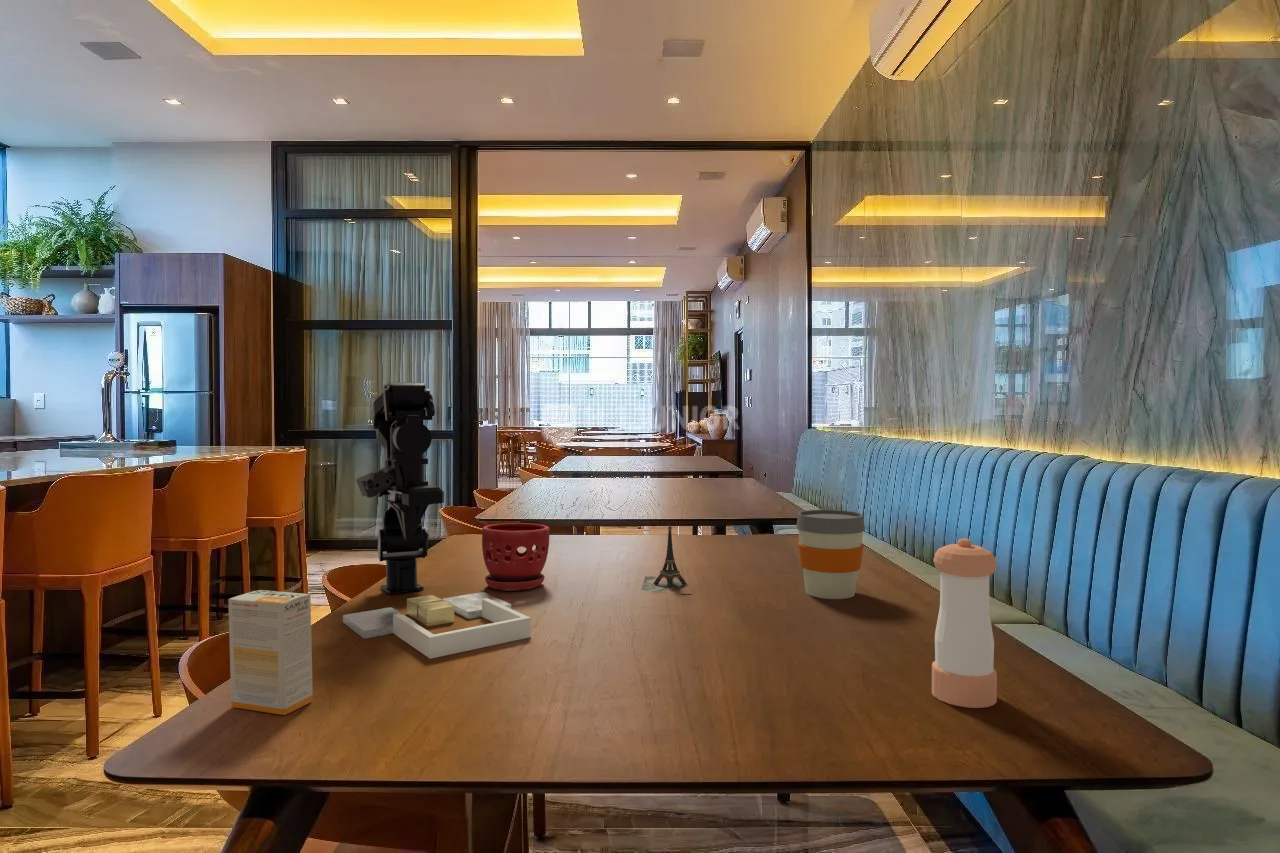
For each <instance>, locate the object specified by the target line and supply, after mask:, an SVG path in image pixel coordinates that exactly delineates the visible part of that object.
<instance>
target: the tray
mask: <svg viewBox="0 0 1280 853" xmlns="http://www.w3.org/2000/svg"><path fill="white" fill-rule="evenodd" d="M400 613H401V612H400ZM400 613H397V614H393V633H392V634H394V635H395V636H396V637H398V638H399V639H400V640H402V641H404V642H405V643H407V644H408V645H409V646H411V647H412V648H414V649H416V651H418V652H420V653H421V654H423V655H424V656H425V657H426V658H428V659H430V660H431V659H436V658H439V657H440V658H441V657H445V656H450V655H454V654H458V653H463V652H467V651H468V652H469V651H472V650H477V649H481V648H485V647H491V646H496V645H500V644H505V643H509V642H515V641H519V640H524V639H528V638H531V637H532V632H531V631H532V629H531V625H532V623H531V622H532V620H531V619H532V618H531V617H530V616H528V615H526V614H524V613H521V612H519V611H517V610H514V609H512V608H511V609H510V608H508V607H506V606H504V605H501V604H499V603H497V602H495V601H493V600H490V599H488V598H485V599H482V617H481V618H483V619H486V620H488V621H489V622H492V623H486V624H481V625H476V626H471V627H466V628H465V627H464V628H461V629H456V630H450V631H446V632H445V631H444V632H440V633H439V632H438V633H435V634H434V633H432V632H431V631H430V630H427V629H425V627H422V626H421V625H419V624H418V623H416V621H415V622H413V621H414V620H413V621H411V620H410V619H411V618H410V619H408V618H409V617H408V618H406V617H405V616H406V615H405V616H403V615H404V614H403V613H402V614H403V615H402V614H400Z"/></svg>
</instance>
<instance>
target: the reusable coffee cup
mask: <svg viewBox="0 0 1280 853" xmlns="http://www.w3.org/2000/svg"><path fill="white" fill-rule="evenodd" d="M796 517H797V519H796V520H797V521H796V525H795V526H796V527H795V528H796V529H797V531H798V538H799V541H798V542H797V548H798V556H799V557H798V558H799V564H800V567H801V568H802V569H803V570H802V572H803V578H804V579H803V580H804V587H805V593H806V594H807V595H808V596H812V597H815V598H817V599H818V598H819V599H826V600H843V599H844V600H846V599H851V598H852V597H855V595H856V587H857V579H858V572H859V571H860V570H861V566H862V560H863V559H862V558H863V551H864V544H863V543H862V541H863V535H864V531H866V528H865V518H864V514H862V513H860V512H857V511H849V510H840V509H809V510H807V509H806V510H801V511H799V512H797V516H796Z"/></svg>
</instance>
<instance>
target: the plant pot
mask: <svg viewBox="0 0 1280 853" xmlns="http://www.w3.org/2000/svg"><path fill="white" fill-rule="evenodd" d="M481 546H482V548H481V549H482V556H483V561H484V565H485V567H486V570H487V571H488V573H489V574H487V575H486V576H485V577H484V581H485V583H486V584H487V585H488V587H490V588H492V589H496V590H500V591H503V592H510V591H514V592H515V591H525V590H532V589H535V588H537V587H538V586H541V584H543V582H544V581H545V575H544V574H543V573H542V571H543V569H544V567H545V565H546V563H547V560H548V559H547V558H548V553H549V547H550V527H549V526H547V525H545V524H539V523H530V522H528V523H527V522H514V523H513V522H507V523H493V524H489V525H484V526H483V527H482V531H481ZM534 546H535V549H534V550H533V547H534ZM521 547H523V548H525V551H524V552H520V551H519V550H518V549H519V548H521Z"/></svg>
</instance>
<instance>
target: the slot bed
mask: <svg viewBox="0 0 1280 853" xmlns="http://www.w3.org/2000/svg"><path fill="white" fill-rule="evenodd" d="M485 598H488V599H490V600H493V601H495V602H497V603H499V604H501V605H504V606H506V607H508V608H510V609H512V604H511V603H509V602H507V601H505V600H503V599H500V598H498V597H496V596H493V595H491V594H489V593H487V592H484V591H480V592H476V593H475V592H474V593H468V594H463V595H458V596H457V595H455V596H450V597H444V598H441V599H442V600H443V601H446V602H448V603H449V604H451V605H453V606H454V614H457V615H459V616H461V617H462V618H465V619H467V620H472V619H477V618H483V617H482V599H485ZM397 613H400V614H402V615H403V616H405V617H406V618H408V619H410V620H411V621H413V622H415V623H416V621H415V620H413V619H411V617H408V616H406V615H405V614H404V613H402V612H400V611H398V610H397V609H395V608H393V607H383V608H378V609H372V610H367V611H360V612H354V613H349V614H343V615H342V622H343V624H344V625H346V627H348V628H350V629H351V630H352V631H353V632H355V633H356V634H357V635H359V636H360V637H361V638H362V639H370V638H376V637H381V636H386V635H392V634H394V633H393V614H397Z"/></svg>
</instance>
